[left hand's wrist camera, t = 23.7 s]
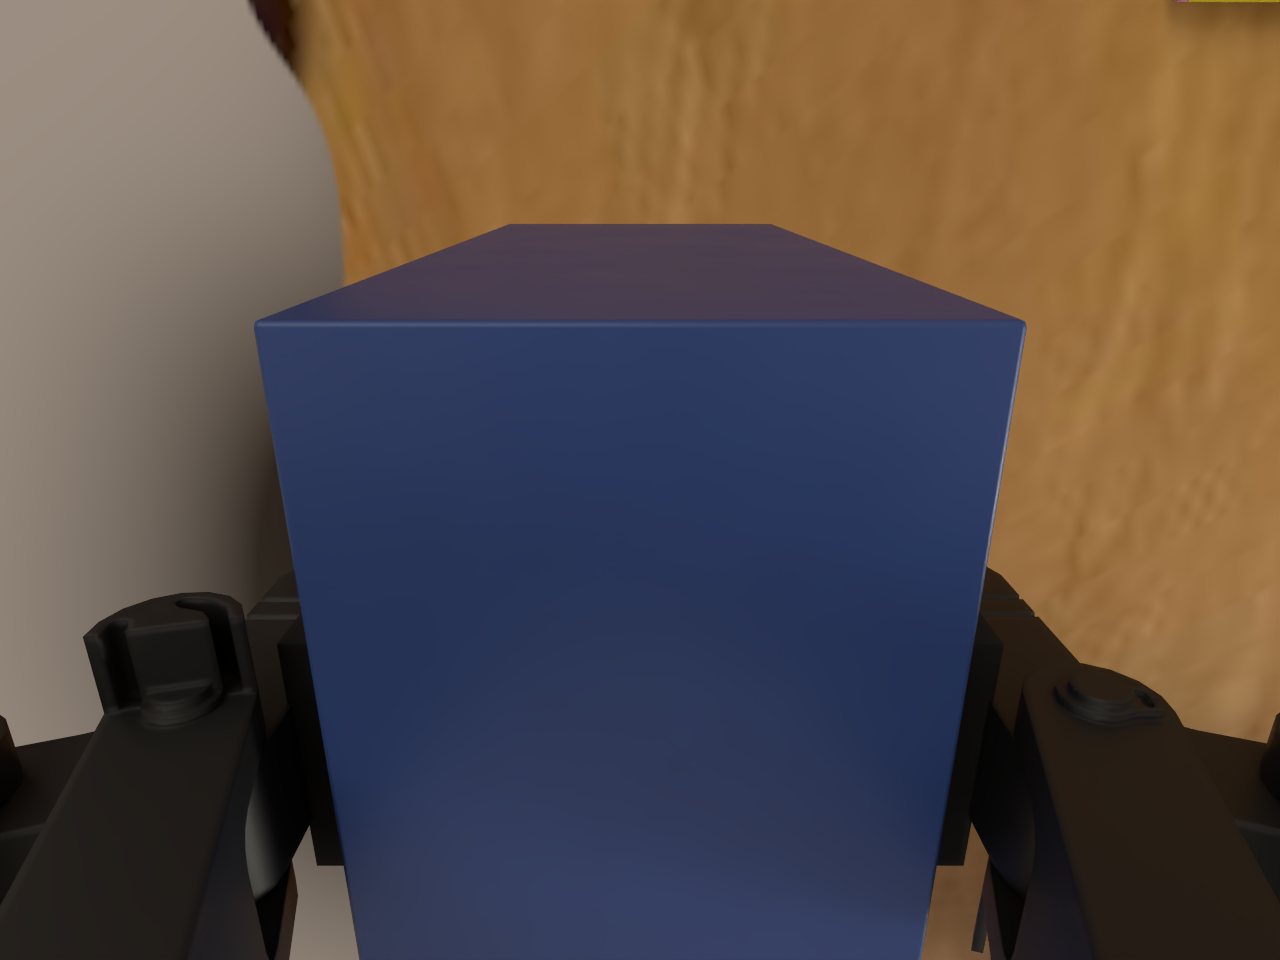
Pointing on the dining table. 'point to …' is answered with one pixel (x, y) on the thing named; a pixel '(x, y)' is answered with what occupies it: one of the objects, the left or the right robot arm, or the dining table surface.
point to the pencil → (1227, 0)
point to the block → (640, 587)
